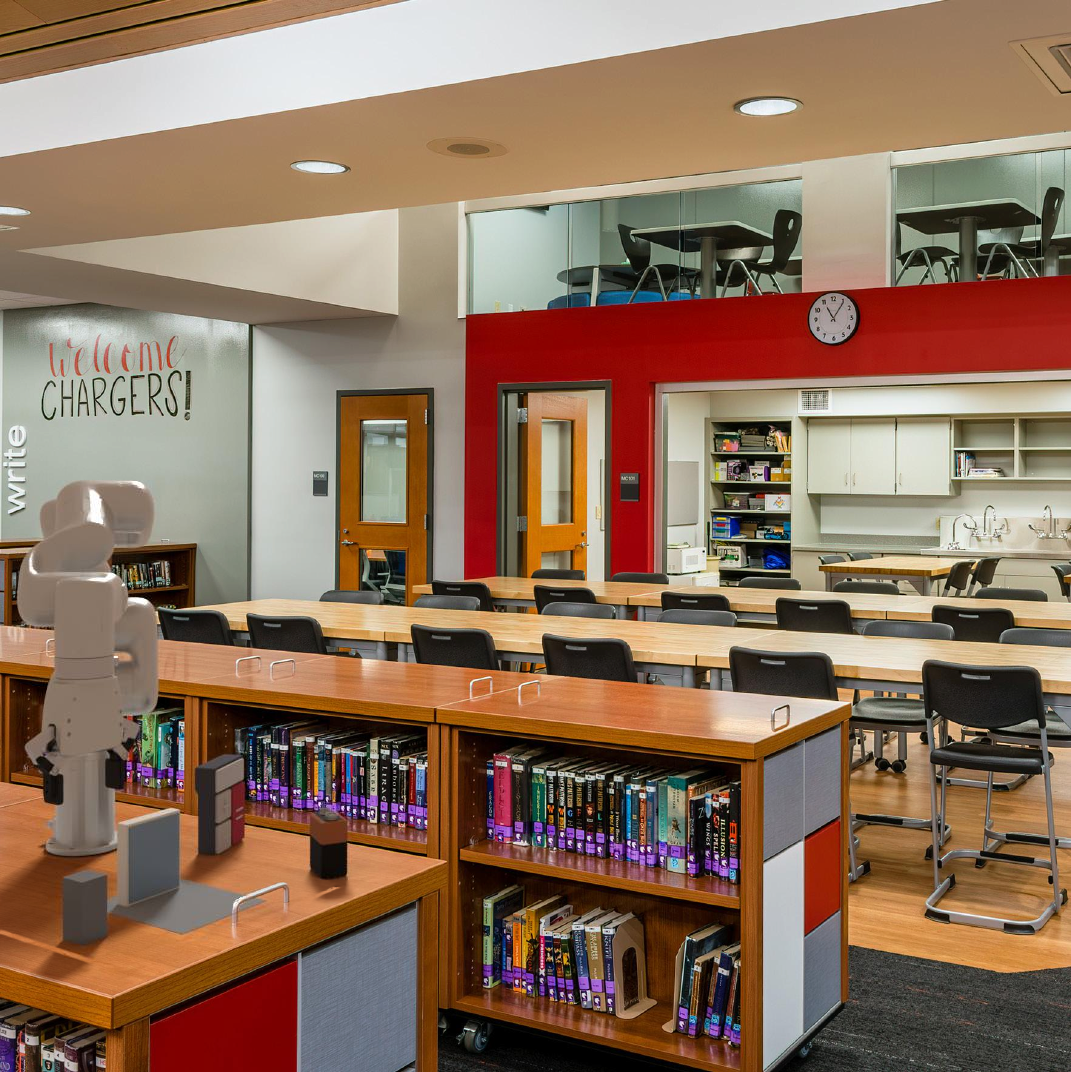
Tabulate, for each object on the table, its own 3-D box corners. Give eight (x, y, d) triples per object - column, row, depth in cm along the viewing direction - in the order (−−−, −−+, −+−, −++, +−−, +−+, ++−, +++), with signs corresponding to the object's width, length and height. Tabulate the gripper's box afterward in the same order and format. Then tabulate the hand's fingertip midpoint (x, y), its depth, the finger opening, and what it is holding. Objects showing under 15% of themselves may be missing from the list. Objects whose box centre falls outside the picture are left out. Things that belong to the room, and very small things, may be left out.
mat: (86, 909, 171) (86, 906, 171) (172, 879, 185) (172, 876, 185) (182, 937, 161) (182, 934, 161) (266, 903, 175) (266, 900, 175)
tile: (117, 904, 172) (117, 822, 172) (170, 885, 181) (170, 807, 180) (128, 907, 171) (127, 825, 171) (181, 887, 180) (181, 809, 179)
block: (62, 943, 159) (62, 877, 158) (87, 934, 162) (87, 869, 162) (82, 949, 157) (82, 882, 156) (107, 940, 160) (107, 874, 160)
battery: (321, 880, 185) (321, 817, 185) (308, 868, 191) (309, 807, 191) (348, 876, 187) (348, 814, 187) (334, 864, 193) (335, 804, 193)
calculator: (218, 858, 196) (218, 769, 195) (194, 856, 197) (194, 767, 196) (247, 839, 207) (247, 754, 206) (224, 837, 208) (224, 753, 207)
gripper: (118, 659, 167) (118, 779, 168) (9, 674, 153) (9, 805, 153) (155, 663, 163) (155, 786, 164) (46, 679, 149) (46, 814, 149)
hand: (84, 795), depth 159 cm, fingers open, 9 cm apart
